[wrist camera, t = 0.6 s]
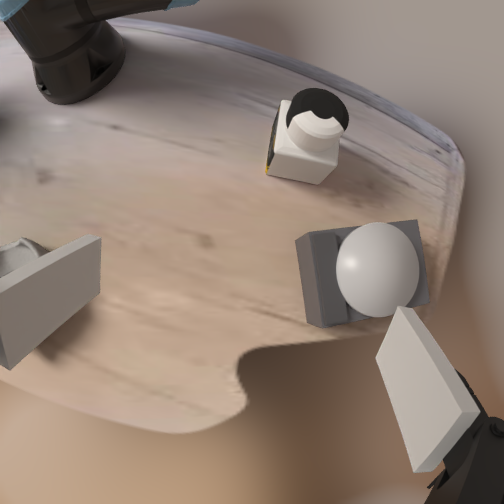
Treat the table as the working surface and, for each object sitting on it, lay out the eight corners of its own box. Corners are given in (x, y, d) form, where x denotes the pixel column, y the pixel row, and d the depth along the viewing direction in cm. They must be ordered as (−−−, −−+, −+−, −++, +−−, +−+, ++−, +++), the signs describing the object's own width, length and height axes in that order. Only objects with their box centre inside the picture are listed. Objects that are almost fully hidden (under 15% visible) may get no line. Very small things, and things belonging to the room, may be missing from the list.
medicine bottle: (272, 126, 40) (290, 73, 28) (323, 137, 41) (356, 90, 29) (264, 174, 39) (282, 130, 27) (319, 186, 40) (355, 148, 28)
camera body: (295, 240, 39) (312, 229, 31) (393, 228, 40) (424, 216, 33) (307, 322, 38) (327, 330, 30) (404, 301, 39) (436, 303, 32)
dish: (-19, 272, 34) (-40, 270, 29) (41, 218, 36) (22, 210, 31) (21, 361, 33) (1, 368, 28) (87, 313, 35) (70, 316, 30)
